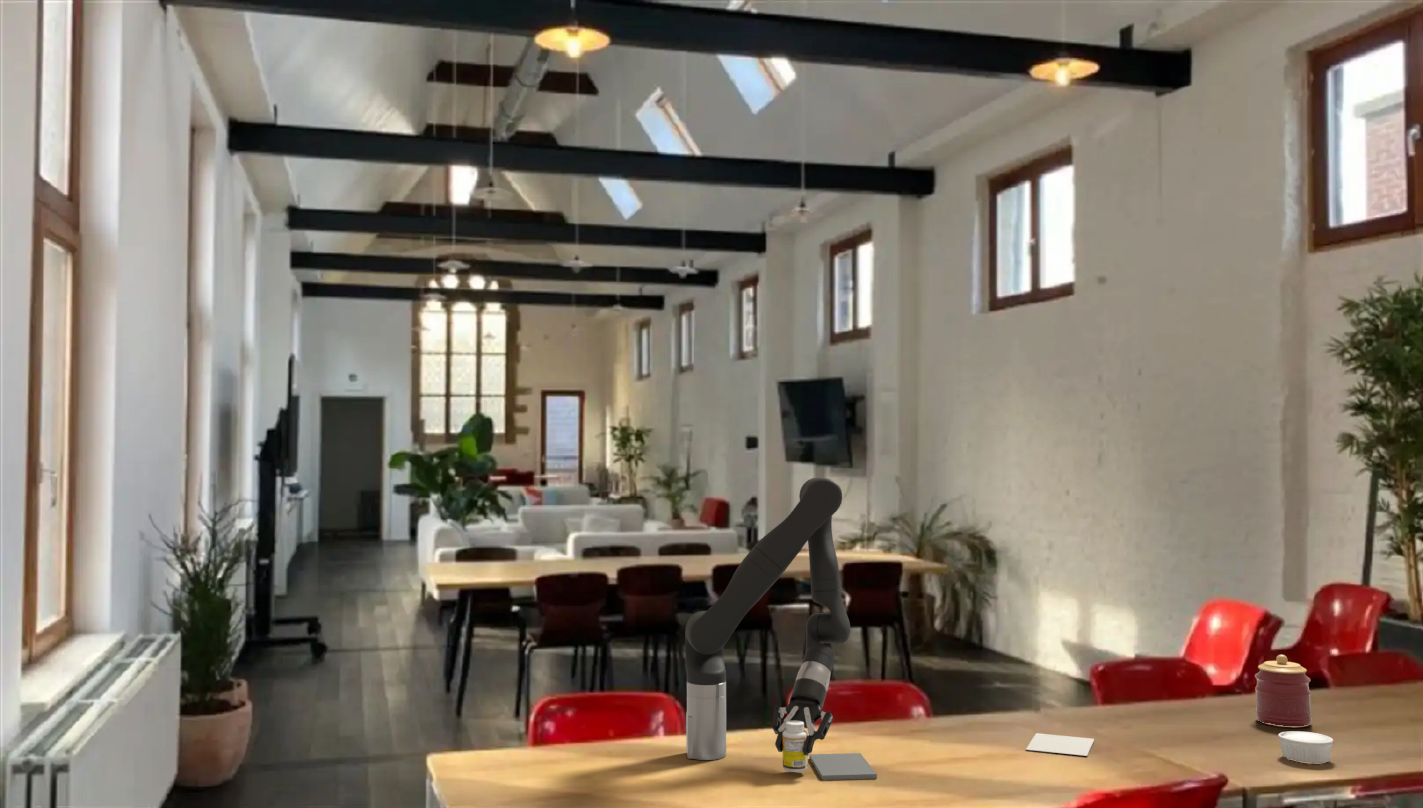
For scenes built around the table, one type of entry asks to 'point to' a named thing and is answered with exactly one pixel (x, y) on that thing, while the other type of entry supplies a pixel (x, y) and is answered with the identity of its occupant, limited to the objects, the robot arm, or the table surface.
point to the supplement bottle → (794, 747)
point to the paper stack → (1060, 744)
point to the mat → (842, 766)
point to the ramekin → (1306, 746)
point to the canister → (1283, 693)
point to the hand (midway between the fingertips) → (792, 751)
